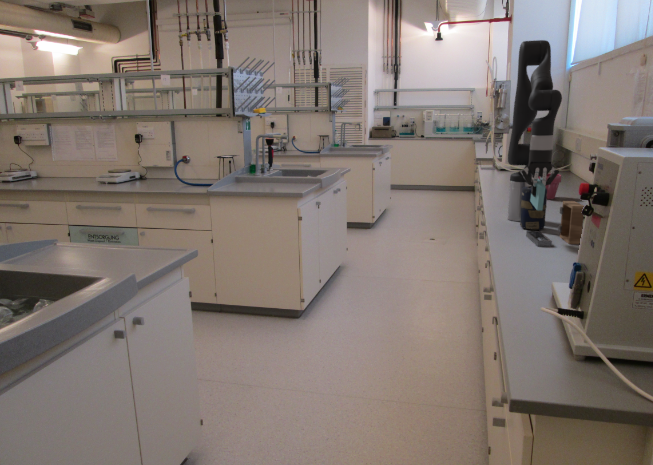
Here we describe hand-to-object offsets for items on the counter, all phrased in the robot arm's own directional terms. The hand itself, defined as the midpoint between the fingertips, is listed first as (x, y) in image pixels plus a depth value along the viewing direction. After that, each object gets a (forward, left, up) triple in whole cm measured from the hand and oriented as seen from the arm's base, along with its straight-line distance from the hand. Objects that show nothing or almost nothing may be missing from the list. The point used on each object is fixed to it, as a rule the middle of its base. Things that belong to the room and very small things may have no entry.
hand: (537, 196), depth 179 cm
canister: (-21, +5, -17) cm, 27 cm away
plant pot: (-93, +32, -17) cm, 100 cm away
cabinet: (-1, +13, -17) cm, 21 cm away
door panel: (-1, 0, -4) cm, 4 cm away
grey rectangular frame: (0, +1, -17) cm, 17 cm away
